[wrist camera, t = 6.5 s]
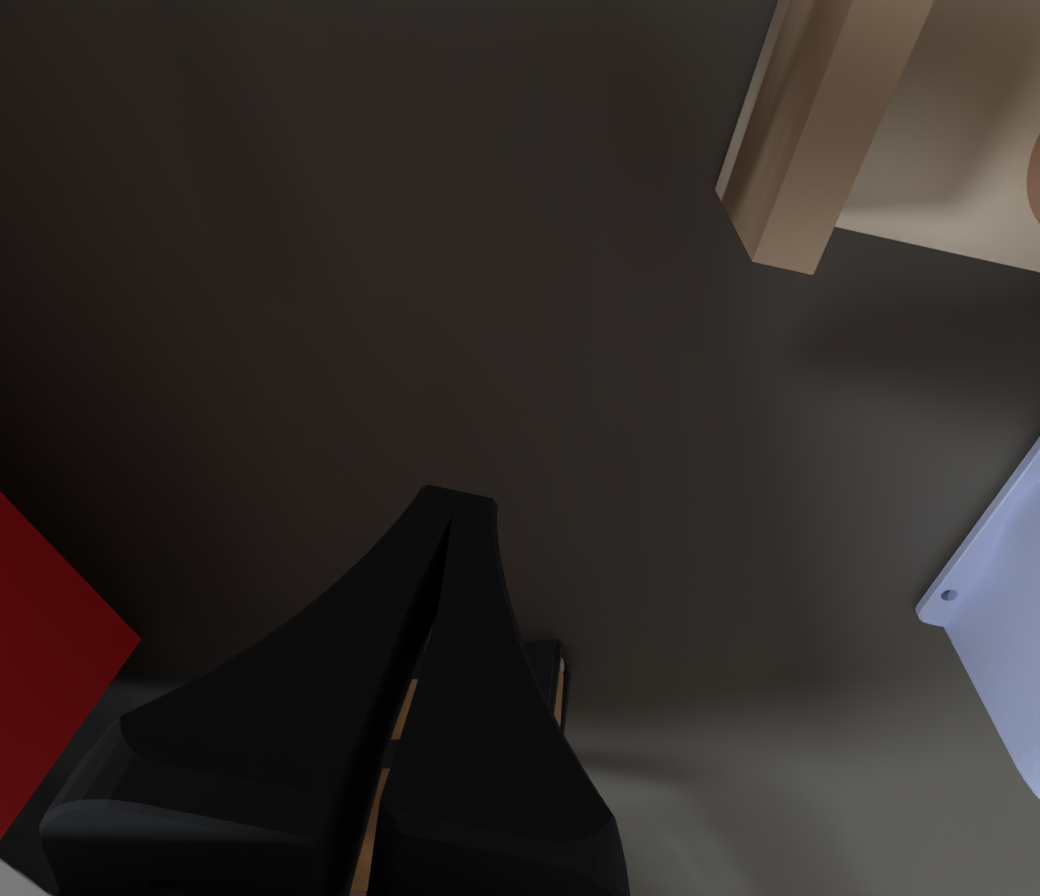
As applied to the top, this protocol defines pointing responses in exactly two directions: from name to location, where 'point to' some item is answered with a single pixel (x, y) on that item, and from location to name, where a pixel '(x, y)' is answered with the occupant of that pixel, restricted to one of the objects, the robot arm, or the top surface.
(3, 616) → the book
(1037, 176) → the canister
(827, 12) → the tan notched piece
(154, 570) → the top surface
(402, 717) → the cigar case
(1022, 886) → the top surface
